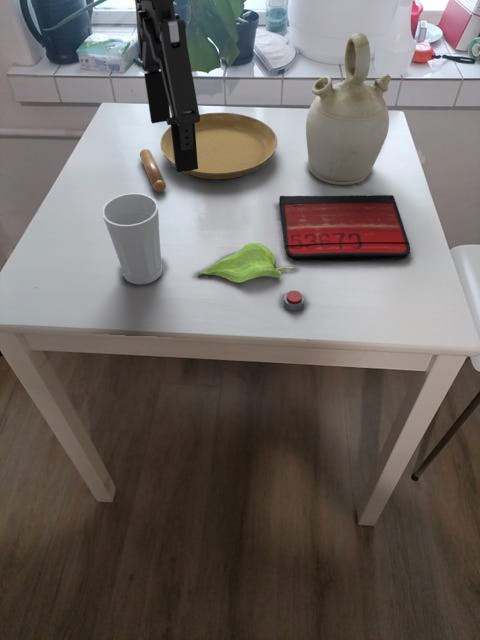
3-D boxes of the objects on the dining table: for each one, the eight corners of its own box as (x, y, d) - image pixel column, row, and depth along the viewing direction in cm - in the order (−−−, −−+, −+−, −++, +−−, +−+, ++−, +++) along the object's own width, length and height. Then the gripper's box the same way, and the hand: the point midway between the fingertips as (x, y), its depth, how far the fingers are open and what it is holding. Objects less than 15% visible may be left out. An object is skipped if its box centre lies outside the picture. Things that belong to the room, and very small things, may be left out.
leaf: (296, 285, 77) (297, 275, 75) (197, 287, 77) (196, 278, 75) (291, 248, 83) (292, 239, 81) (198, 250, 82) (198, 241, 81)
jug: (298, 187, 95) (312, 48, 76) (304, 147, 105) (317, 15, 86) (378, 194, 93) (413, 54, 74) (376, 152, 103) (406, 20, 84)
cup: (164, 288, 76) (154, 226, 67) (113, 287, 77) (96, 226, 68) (170, 254, 82) (161, 193, 73) (122, 254, 82) (107, 192, 73)
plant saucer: (271, 190, 94) (272, 175, 92) (149, 182, 96) (147, 167, 94) (280, 129, 110) (281, 115, 107) (175, 123, 112) (174, 109, 110)
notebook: (279, 194, 89) (394, 193, 89) (278, 204, 91) (390, 203, 91) (286, 254, 79) (415, 253, 79) (285, 265, 81) (411, 263, 81)
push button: (284, 310, 73) (285, 303, 72) (282, 296, 75) (283, 289, 74) (304, 309, 73) (305, 302, 72) (302, 295, 75) (303, 288, 74)
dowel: (167, 193, 94) (166, 182, 92) (155, 196, 93) (153, 185, 91) (150, 156, 103) (149, 145, 101) (139, 158, 102) (137, 148, 100)
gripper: (225, -24, 42) (230, 187, 58) (158, -79, 58) (176, 99, 74) (140, -16, 41) (169, 200, 57) (94, -75, 56) (126, 107, 72)
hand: (173, 143), depth 65 cm, fingers open, 13 cm apart
